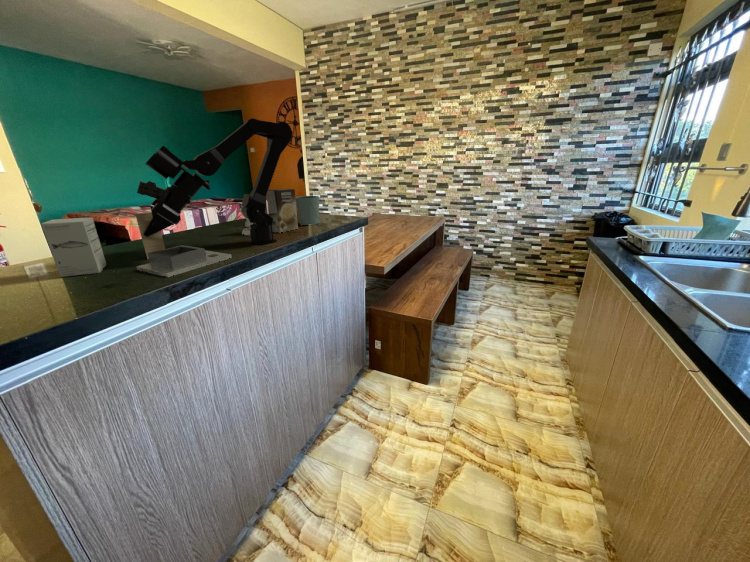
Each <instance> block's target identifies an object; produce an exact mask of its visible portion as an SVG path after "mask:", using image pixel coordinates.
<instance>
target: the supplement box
mask: <svg viewBox="0 0 750 562" xmlns="http://www.w3.org/2000/svg"><path fill="white" fill-rule="evenodd" d="M41 228H42V230H43V233H44V235H45V239H46V241H47V243H48V247H49V249H50V252H51V255H52V257H53V261H54V263H55V266H56V268H57V271H58V274H59V277H60V278H66V277H72V276H81V275H92V274H101V272H102V271H103V270H104V269H105V268H106V267H107V266H106V265H107V262H106V258H105V255H104V251H103V247H102V244H101V242H100V237H99V235H98V232H97V228H96V225H95V222H94V218H93V217H74V218H57V219H56V218H55V219H54V218H53V219H50V220H47V221H45V222H41ZM105 266H106V267H105ZM104 267H105V268H104ZM103 268H104V269H103Z"/></svg>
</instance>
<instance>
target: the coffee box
mask: <svg viewBox="0 0 750 562" xmlns="http://www.w3.org/2000/svg"><path fill="white" fill-rule="evenodd" d="M295 197H296V189H295V188H274V189H268V192H267V195H266V205H267V211H268V213H267V214H268V215H269V216H270V217H272V218H273V222H272V230H273V233H277V232H278V234H282V233H281V232H283V233H287V232H286V231H289V232H291V231H290V230H294V231H296V230H295V229H298V230H299V226H298V210H297V204H296V198H295Z"/></svg>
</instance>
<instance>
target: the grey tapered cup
mask: <svg viewBox="0 0 750 562" xmlns="http://www.w3.org/2000/svg"><path fill="white" fill-rule="evenodd" d="M295 198H296V209H297V215H298V219H299V220H298V221H299V225H300V224H304V225H309V224H317V223H319V224H320V196H319V195H301V196H295Z"/></svg>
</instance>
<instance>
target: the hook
mask: <svg viewBox="0 0 750 562" xmlns="http://www.w3.org/2000/svg"><path fill="white" fill-rule="evenodd" d="M239 213H240V214H241V215H242V217H243V218H244V219H246V221H244V226H245V227H247V228H243V229H242V232H241V235H243V234H244V235H243V236H251V235H250V230H251V227H250V225H252V224H253V223H250V221H249V219H248V218H246V217H245V216H244V215H243V213H242V211H241V208H239Z"/></svg>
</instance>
